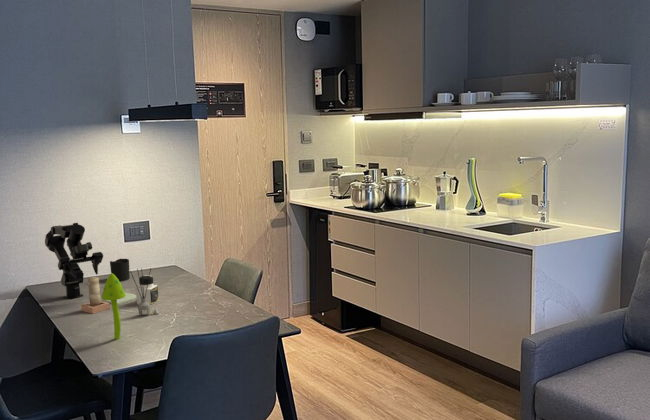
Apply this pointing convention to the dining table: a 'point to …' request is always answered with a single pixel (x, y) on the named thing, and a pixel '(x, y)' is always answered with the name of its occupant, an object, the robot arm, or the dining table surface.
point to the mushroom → (114, 300)
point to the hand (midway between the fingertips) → (86, 275)
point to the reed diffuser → (144, 300)
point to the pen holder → (120, 269)
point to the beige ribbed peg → (94, 291)
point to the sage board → (123, 299)
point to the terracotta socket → (95, 309)
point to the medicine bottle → (151, 290)
